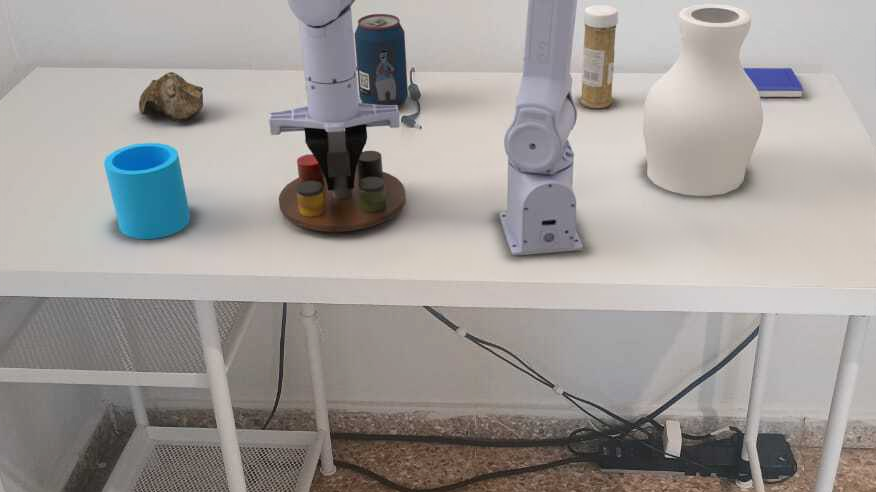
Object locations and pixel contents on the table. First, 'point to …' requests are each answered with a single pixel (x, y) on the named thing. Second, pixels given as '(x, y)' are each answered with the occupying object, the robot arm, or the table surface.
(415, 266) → the table surface
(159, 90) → the fossilized seashell
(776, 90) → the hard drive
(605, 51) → the sprinkles bottle
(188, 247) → the table surface
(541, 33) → the robot arm
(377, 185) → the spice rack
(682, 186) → the vase
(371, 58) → the soda can
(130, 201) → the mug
